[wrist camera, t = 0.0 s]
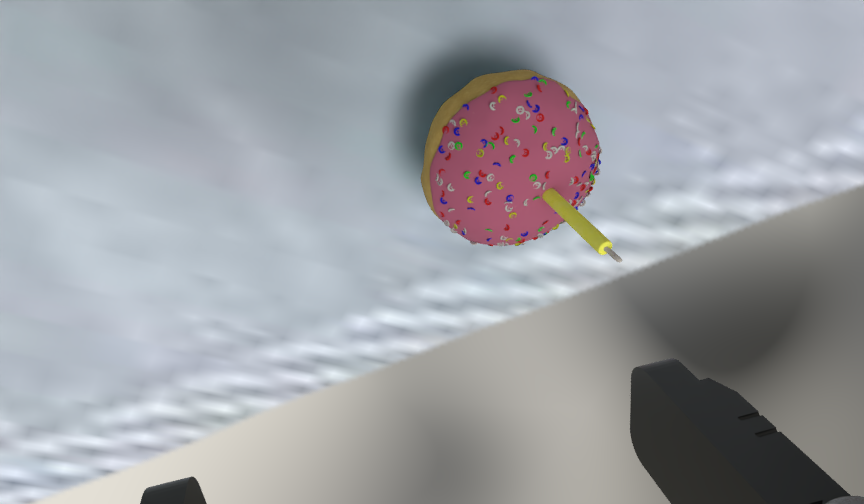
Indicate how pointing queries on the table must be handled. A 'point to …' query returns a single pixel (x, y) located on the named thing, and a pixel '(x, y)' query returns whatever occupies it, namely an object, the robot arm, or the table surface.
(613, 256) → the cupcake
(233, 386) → the table surface
